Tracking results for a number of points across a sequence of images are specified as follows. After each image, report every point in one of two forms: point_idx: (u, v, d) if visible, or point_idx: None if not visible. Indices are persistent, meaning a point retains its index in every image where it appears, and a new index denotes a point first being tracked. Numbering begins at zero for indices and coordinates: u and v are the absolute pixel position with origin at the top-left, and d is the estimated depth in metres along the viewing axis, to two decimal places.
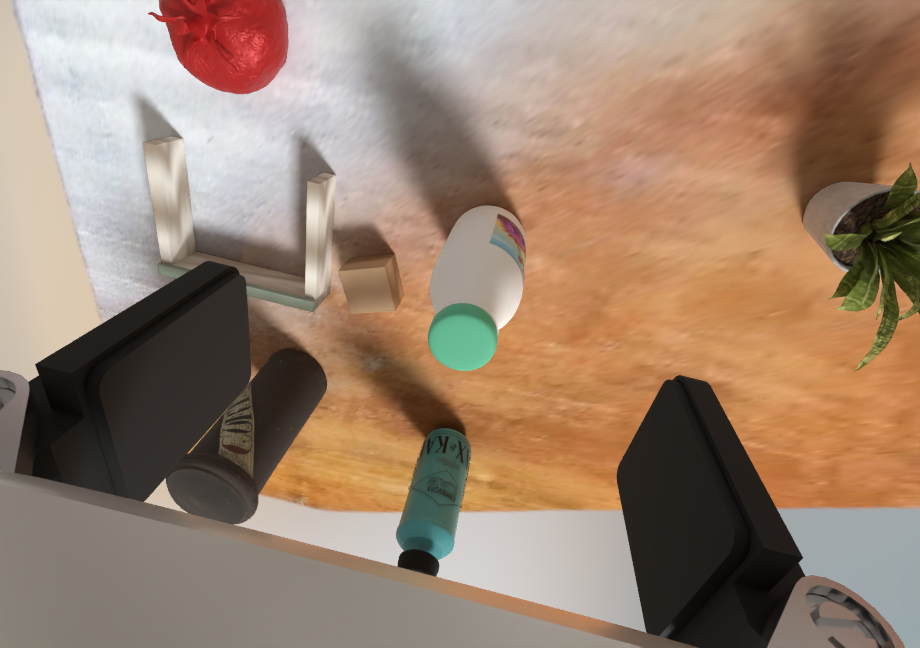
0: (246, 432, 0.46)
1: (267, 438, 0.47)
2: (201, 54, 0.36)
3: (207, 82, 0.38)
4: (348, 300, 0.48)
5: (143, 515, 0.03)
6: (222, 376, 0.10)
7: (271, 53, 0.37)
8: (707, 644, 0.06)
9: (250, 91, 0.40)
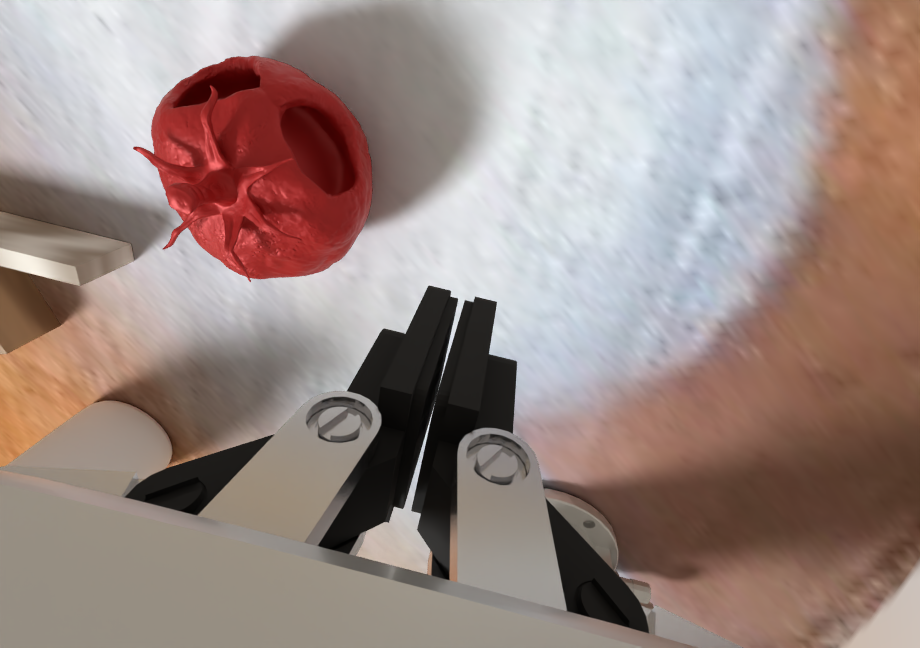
0: None
1: None
2: None
3: (153, 140, 0.20)
4: None
5: (143, 515, 0.03)
6: (436, 390, 0.10)
7: None
8: None
9: None
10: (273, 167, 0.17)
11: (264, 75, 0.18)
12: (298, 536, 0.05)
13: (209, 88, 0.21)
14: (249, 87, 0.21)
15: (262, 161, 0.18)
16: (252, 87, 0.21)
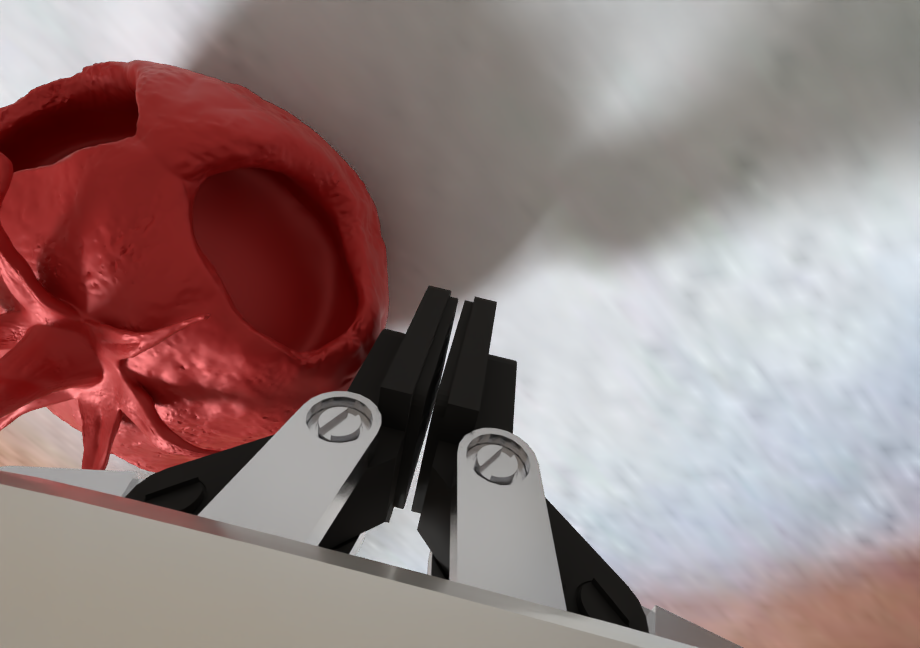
0: None
1: None
2: None
3: None
4: None
5: (144, 514, 0.04)
6: (436, 390, 0.10)
7: None
8: None
9: None
10: (161, 336, 0.07)
11: (147, 107, 0.08)
12: (298, 536, 0.05)
13: (65, 125, 0.10)
14: None
15: (147, 306, 0.08)
16: None
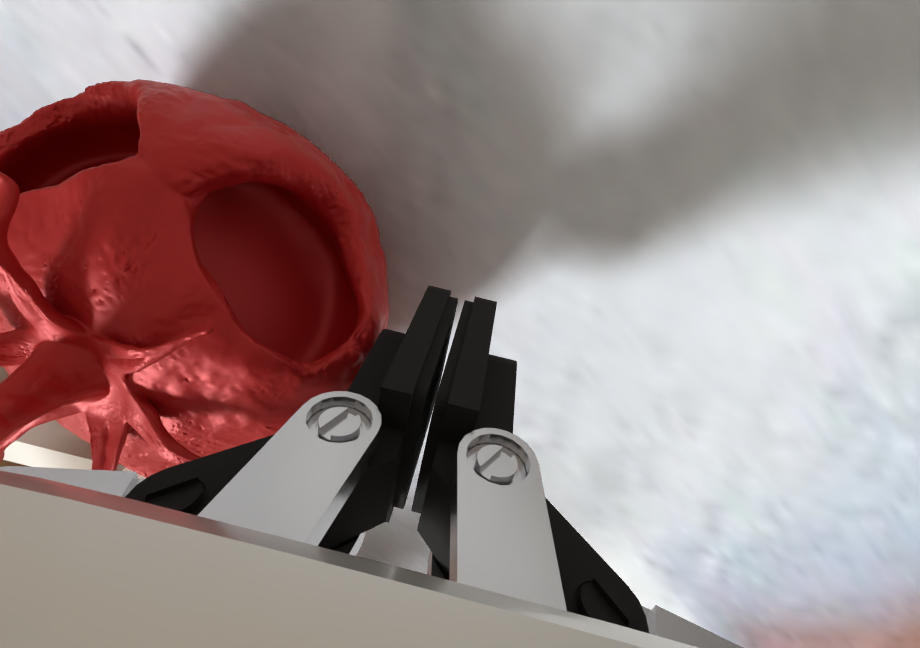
0: None
1: None
2: None
3: None
4: None
5: (143, 515, 0.03)
6: (436, 390, 0.10)
7: None
8: None
9: None
10: (165, 351, 0.07)
11: (148, 127, 0.08)
12: (298, 536, 0.05)
13: (69, 143, 0.11)
14: None
15: (150, 321, 0.08)
16: None
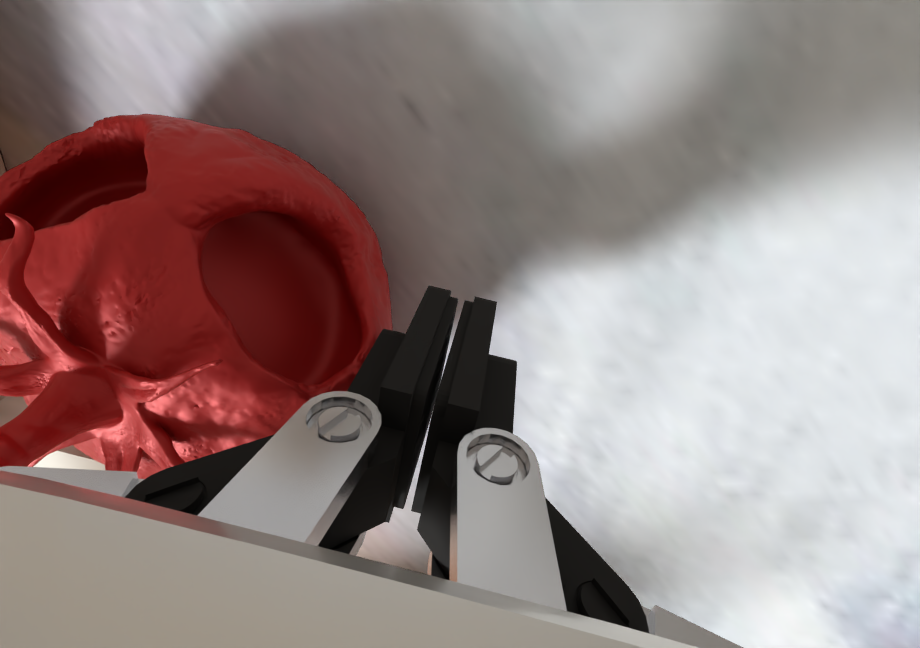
0: None
1: None
2: (9, 356, 0.09)
3: None
4: None
5: (144, 514, 0.04)
6: (436, 390, 0.10)
7: None
8: None
9: None
10: (176, 382, 0.08)
11: (156, 163, 0.08)
12: (298, 536, 0.05)
13: (79, 174, 0.11)
14: None
15: (162, 351, 0.08)
16: None
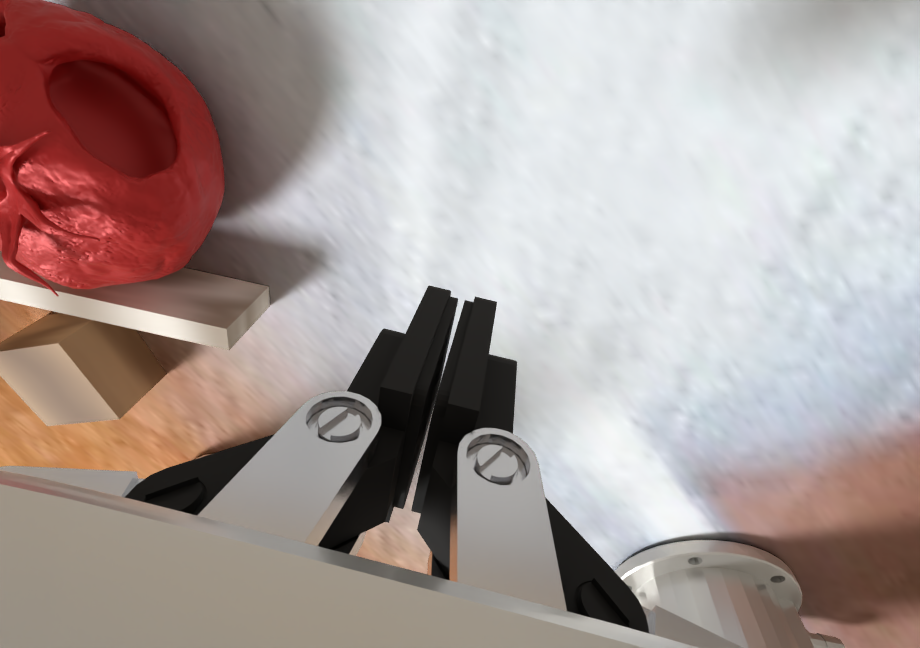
0: None
1: None
2: None
3: None
4: (7, 353, 0.23)
5: (144, 515, 0.03)
6: (436, 390, 0.10)
7: None
8: None
9: None
10: (24, 145, 0.13)
11: (10, 19, 0.13)
12: (298, 536, 0.05)
13: None
14: None
15: (22, 139, 0.14)
16: None
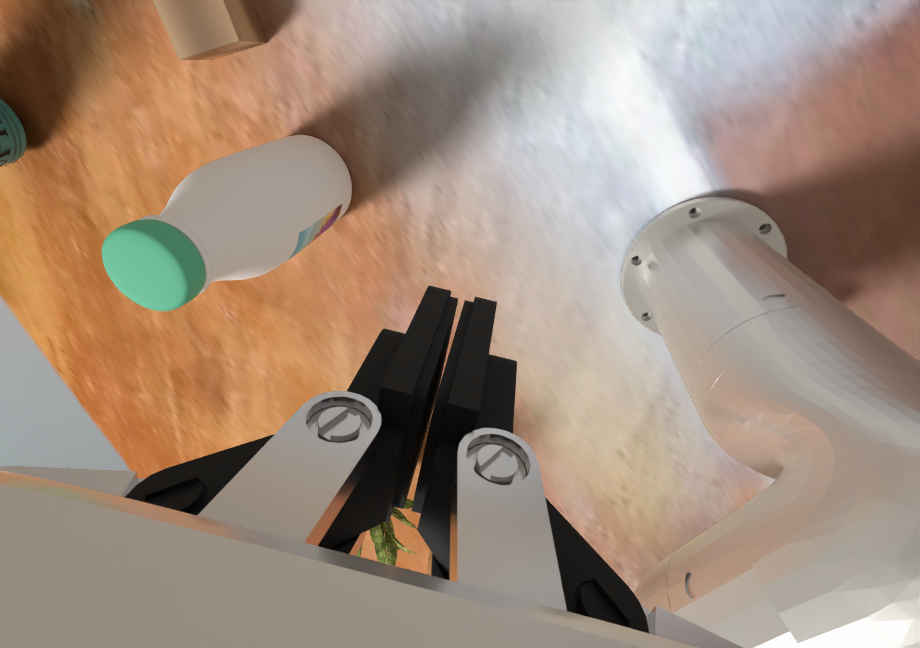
0: None
1: None
2: None
3: None
4: None
5: (144, 514, 0.04)
6: (436, 390, 0.10)
7: None
8: None
9: None
10: None
11: None
12: (298, 536, 0.05)
13: None
14: None
15: None
16: None
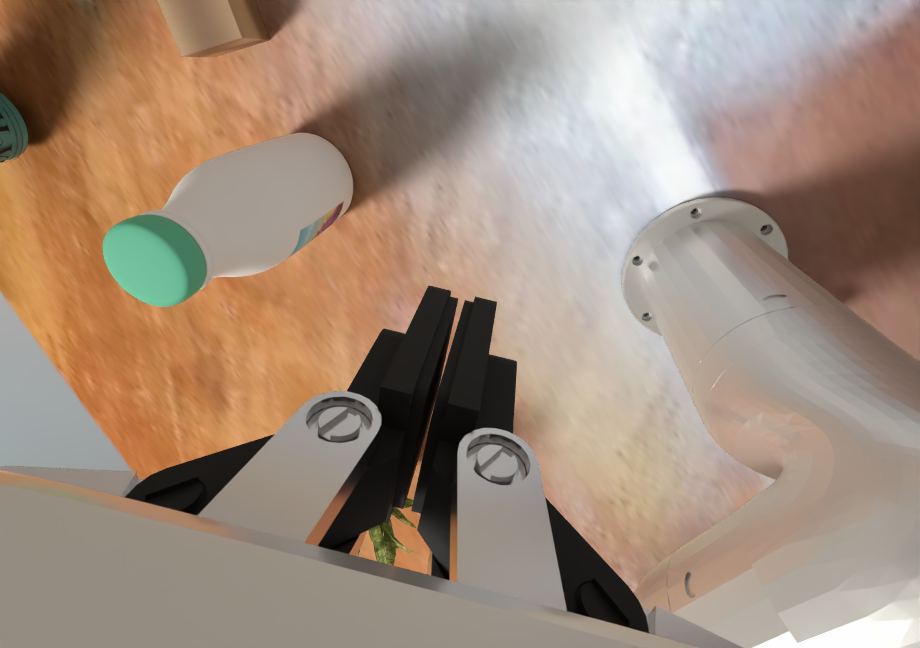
0: None
1: None
2: None
3: None
4: None
5: (143, 515, 0.03)
6: (436, 390, 0.10)
7: None
8: None
9: None
10: None
11: None
12: (298, 536, 0.05)
13: None
14: None
15: None
16: None
